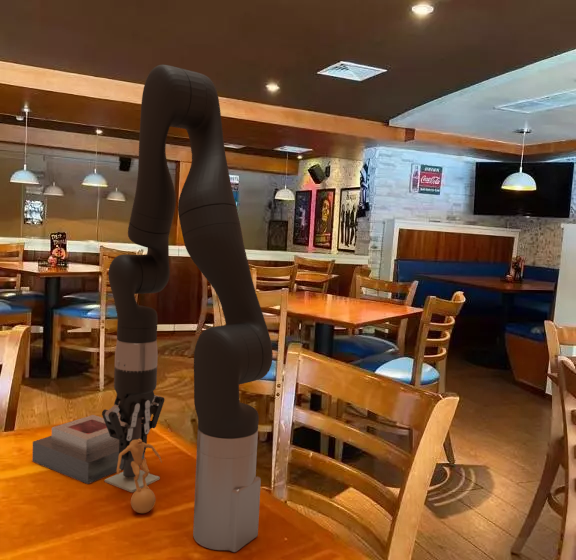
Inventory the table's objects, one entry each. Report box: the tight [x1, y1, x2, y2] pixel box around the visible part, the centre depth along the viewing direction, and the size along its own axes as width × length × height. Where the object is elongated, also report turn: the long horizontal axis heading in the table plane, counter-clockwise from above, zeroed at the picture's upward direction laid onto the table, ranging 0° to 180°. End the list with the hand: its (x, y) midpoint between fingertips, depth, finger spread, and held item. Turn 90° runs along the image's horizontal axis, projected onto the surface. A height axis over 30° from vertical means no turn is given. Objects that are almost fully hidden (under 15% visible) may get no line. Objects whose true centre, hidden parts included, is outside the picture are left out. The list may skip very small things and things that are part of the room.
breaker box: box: [31, 414, 146, 485], centre depth 117 cm, size 16×14×7 cm
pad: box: [104, 469, 161, 493], centre depth 109 cm, size 7×7×1 cm
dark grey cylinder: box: [122, 417, 142, 478], centre depth 109 cm, size 3×3×11 cm
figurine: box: [116, 439, 163, 514], centre depth 98 cm, size 8×6×12 cm
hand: (132, 455), depth 109 cm, fingers closed on dark grey cylinder, 3 cm apart
